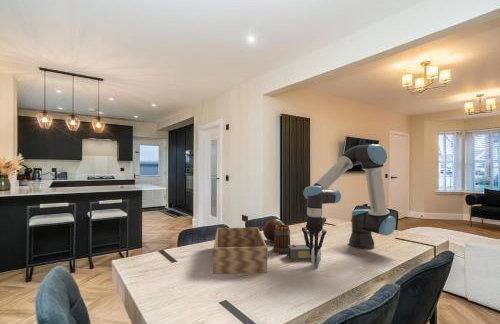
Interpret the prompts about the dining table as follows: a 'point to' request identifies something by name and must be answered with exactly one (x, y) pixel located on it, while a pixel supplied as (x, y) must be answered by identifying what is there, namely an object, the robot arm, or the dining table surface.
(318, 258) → the side door
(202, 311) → the dining table surface
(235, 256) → the box
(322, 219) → the bird figurine
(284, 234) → the mug
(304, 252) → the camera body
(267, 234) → the coconut
